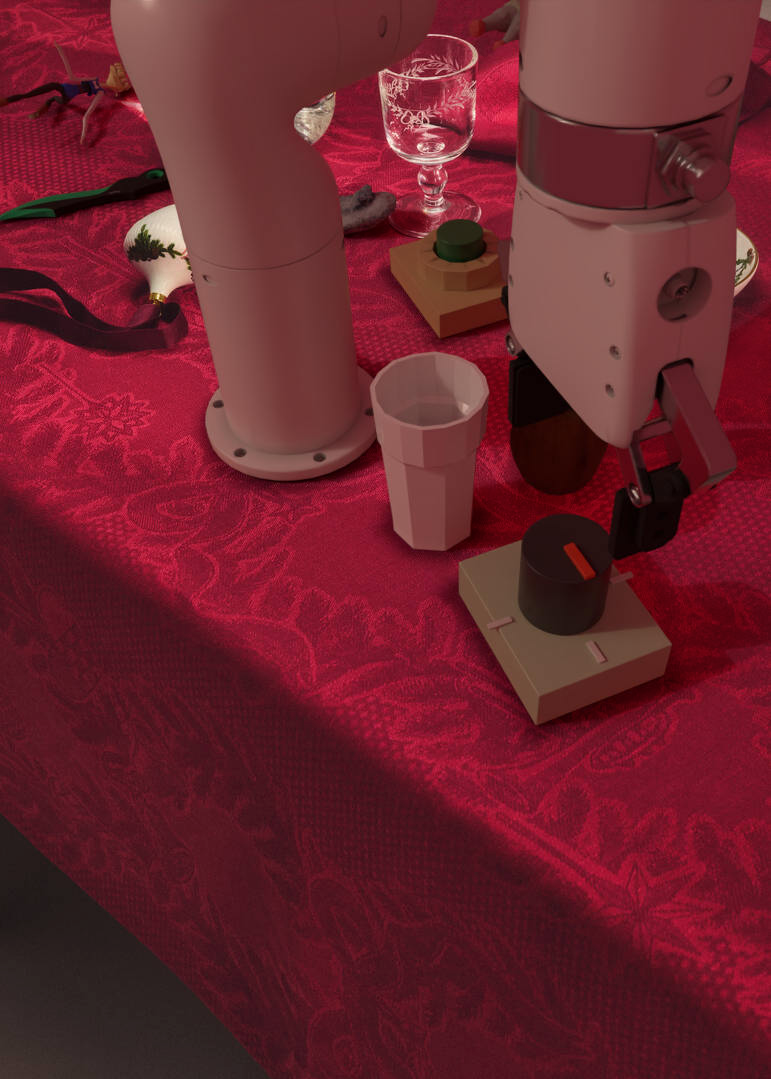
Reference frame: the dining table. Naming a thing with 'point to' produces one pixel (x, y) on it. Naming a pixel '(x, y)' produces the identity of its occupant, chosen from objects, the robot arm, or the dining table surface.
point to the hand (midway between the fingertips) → (586, 477)
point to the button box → (451, 284)
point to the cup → (430, 444)
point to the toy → (500, 23)
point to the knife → (92, 196)
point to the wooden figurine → (557, 453)
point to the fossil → (366, 209)
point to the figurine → (74, 90)
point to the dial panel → (561, 639)
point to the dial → (564, 574)
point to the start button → (459, 240)
